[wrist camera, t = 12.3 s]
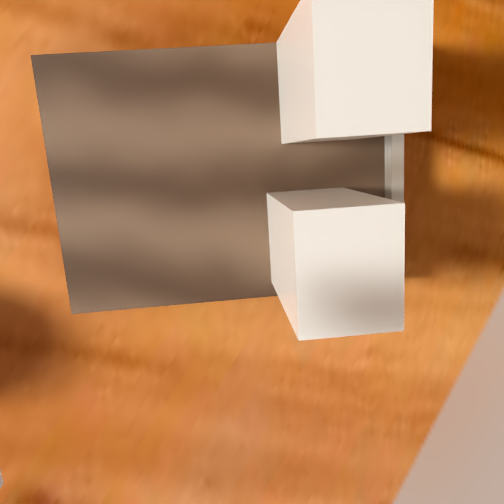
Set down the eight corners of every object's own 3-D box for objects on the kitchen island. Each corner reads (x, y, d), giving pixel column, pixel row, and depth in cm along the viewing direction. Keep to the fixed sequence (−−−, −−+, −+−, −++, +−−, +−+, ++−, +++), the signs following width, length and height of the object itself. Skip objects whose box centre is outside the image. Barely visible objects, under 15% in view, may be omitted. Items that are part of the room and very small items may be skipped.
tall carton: (271, 281, 31) (298, 340, 21) (266, 192, 30) (292, 211, 20) (347, 275, 31) (409, 330, 21) (345, 187, 30) (410, 202, 20)
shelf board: (43, 62, 29) (22, 50, 26) (384, 44, 30) (404, 31, 27) (80, 304, 32) (66, 320, 29) (385, 277, 34) (403, 289, 30)
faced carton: (281, 143, 29) (316, 138, 19) (276, 42, 28) (311, -19, 18) (362, 138, 29) (436, 130, 20) (361, 38, 28) (440, -24, 18)
